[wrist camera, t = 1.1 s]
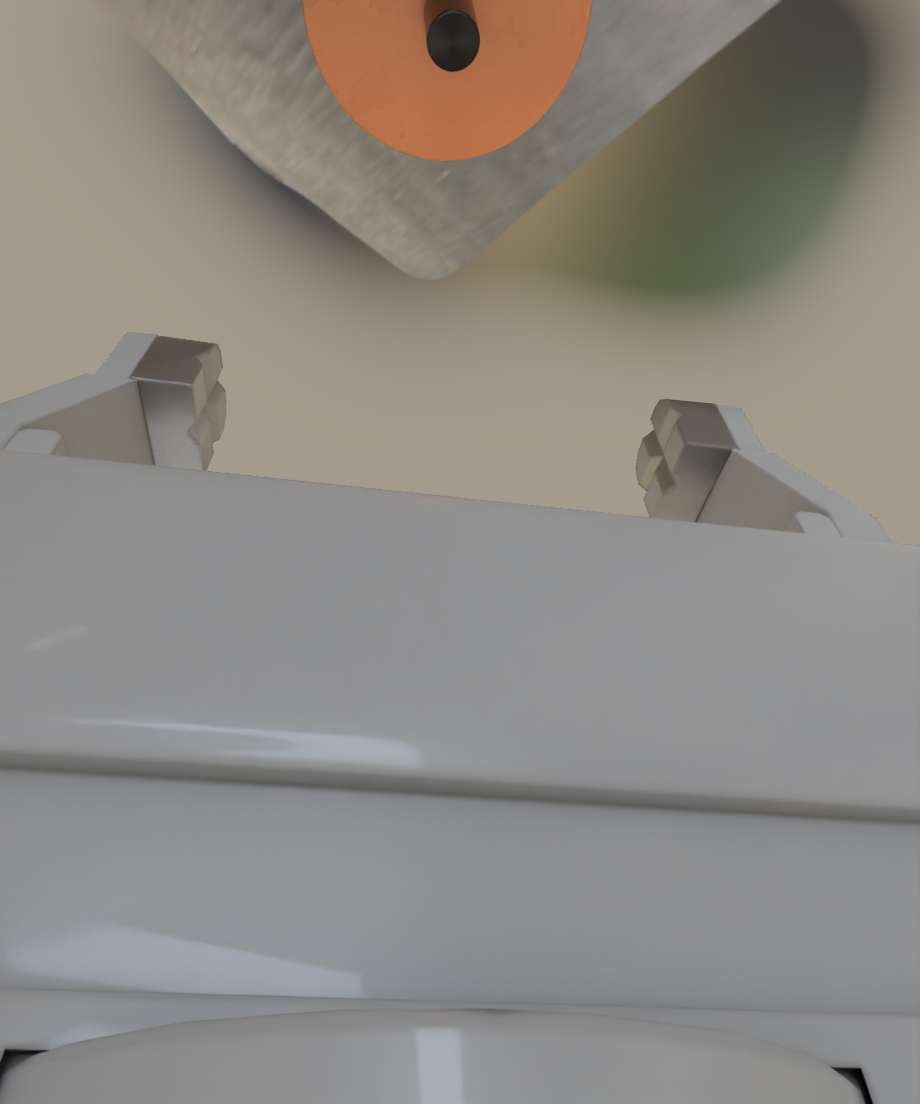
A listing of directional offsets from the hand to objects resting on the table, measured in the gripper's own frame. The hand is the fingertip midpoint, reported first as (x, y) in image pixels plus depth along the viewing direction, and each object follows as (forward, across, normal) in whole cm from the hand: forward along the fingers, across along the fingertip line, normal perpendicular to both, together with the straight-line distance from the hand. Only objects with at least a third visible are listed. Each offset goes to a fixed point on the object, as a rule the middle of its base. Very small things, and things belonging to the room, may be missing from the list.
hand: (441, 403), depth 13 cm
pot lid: (+30, 0, -3) cm, 31 cm away
